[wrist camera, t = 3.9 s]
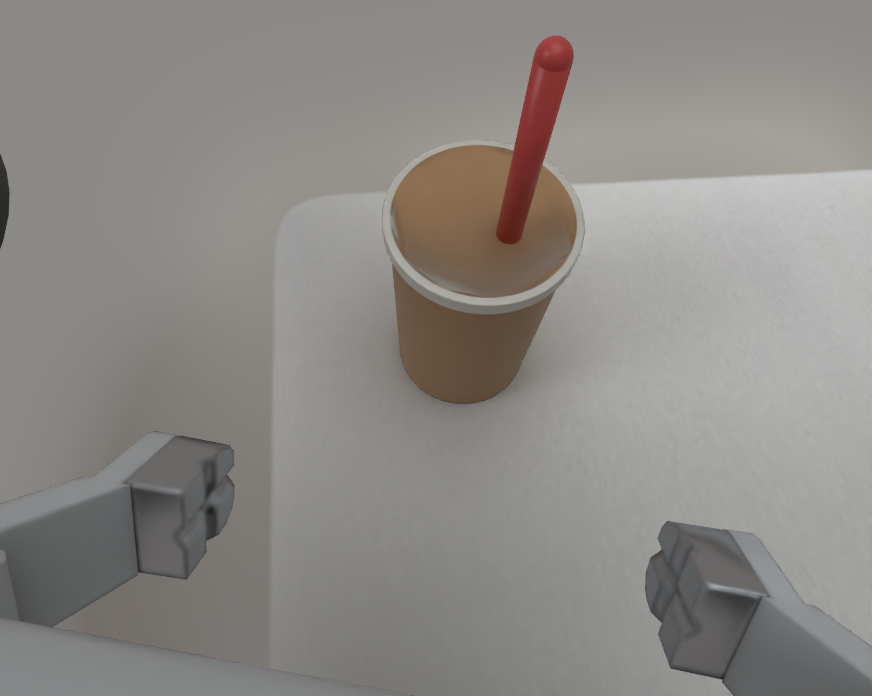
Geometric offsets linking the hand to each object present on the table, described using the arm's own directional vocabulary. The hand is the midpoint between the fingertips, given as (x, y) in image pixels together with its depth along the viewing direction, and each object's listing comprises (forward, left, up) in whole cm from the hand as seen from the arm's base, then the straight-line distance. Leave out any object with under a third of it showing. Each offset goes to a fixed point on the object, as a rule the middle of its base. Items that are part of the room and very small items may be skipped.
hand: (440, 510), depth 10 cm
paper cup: (-5, +8, -13) cm, 16 cm away
